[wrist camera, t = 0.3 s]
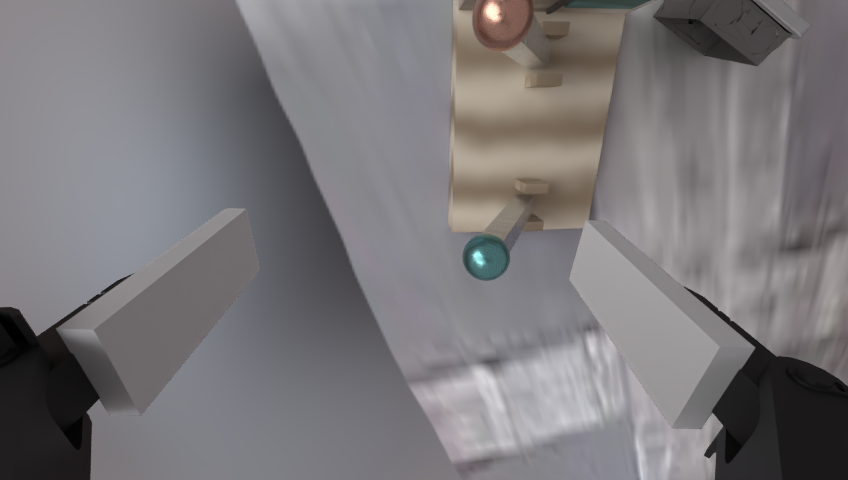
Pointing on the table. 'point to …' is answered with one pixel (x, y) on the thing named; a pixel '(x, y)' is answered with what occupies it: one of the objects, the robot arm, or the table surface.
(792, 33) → the electrical switch
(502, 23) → the terracotta lever
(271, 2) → the table surface
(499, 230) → the teal lever
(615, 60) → the switch unit
